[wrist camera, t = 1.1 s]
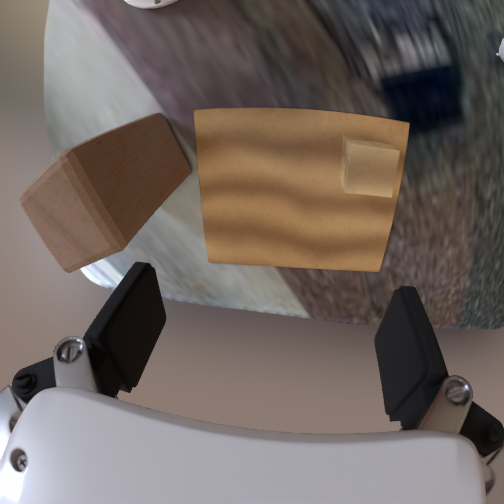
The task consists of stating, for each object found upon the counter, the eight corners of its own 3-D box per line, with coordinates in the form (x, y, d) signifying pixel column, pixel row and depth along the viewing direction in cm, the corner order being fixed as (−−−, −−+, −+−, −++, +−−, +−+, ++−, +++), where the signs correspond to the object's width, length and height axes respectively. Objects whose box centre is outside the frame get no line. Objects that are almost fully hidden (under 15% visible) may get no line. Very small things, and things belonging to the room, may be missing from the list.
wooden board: (194, 109, 33) (193, 110, 33) (409, 122, 30) (409, 123, 30) (208, 261, 46) (208, 262, 46) (378, 271, 43) (379, 271, 43)
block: (163, 109, 33) (62, 149, 17) (195, 171, 38) (125, 253, 22) (111, 141, 36) (13, 200, 20) (142, 196, 41) (64, 278, 25)
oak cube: (343, 135, 32) (350, 143, 28) (386, 141, 32) (400, 150, 28) (339, 178, 36) (345, 193, 32) (380, 183, 35) (391, 197, 31)
